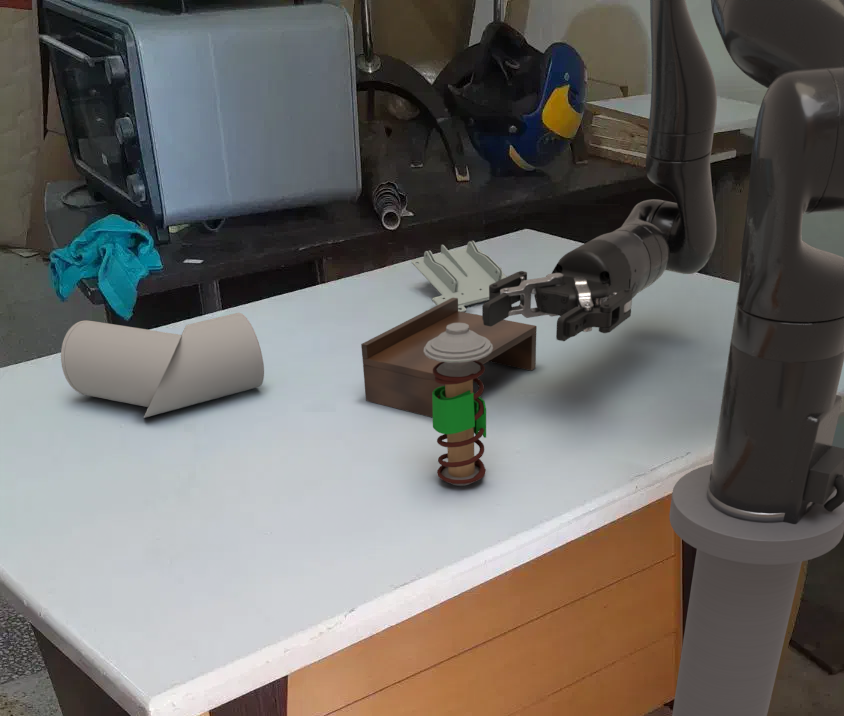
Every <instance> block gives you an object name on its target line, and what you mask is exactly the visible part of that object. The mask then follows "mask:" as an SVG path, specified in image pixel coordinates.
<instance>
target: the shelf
mask: <svg viewBox="0 0 844 716" xmlns="http://www.w3.org/2000/svg"><path fill="white" fill-rule="evenodd" d="M452 323H466V324H468V325H469V330H471V331H474V332H475V333H476V334H478V335H480V336H483V337H485V338H487V339H488V340H489V341H490V343H491V344H492V345H493V350H492V352H491V354H489V355H488V356H486V357H484V358H482V359H479V360H475V361H479V362H480V363H482V364H483V365H484V364H486V363H488V362H489V363H492V364H493V363H494V364H497V365H498V364H499V365H503V366H508V367H512V368H516V369H517V368H518V369H521V370H526V371H533V370H535V369H536V366H537V365H536V362H537V358H536V357H537V325H535V324H529V323H524V322H519V321H514V320H513V321H512V320H507V319H504V320H502V321H500V322H498V323H497V324H495V325H493V326H491V327H490V326H485V325H484V323H483V320H482V315H481V314H475V313H472V312H471V313H470V312H466V311H465V312H460V311H458V298H451V299H449V300H447V301H445V302H443V303H441V304H439V305H437V306H436V305H435V306H433V307H431V308H429V309H427V310H425V311H423V312H422V313H421V312H420V313H419V314H417V315H415V316H413V317H411V318H409V319H408V320H406V321H404V322H402V323H400V324H398V325H396V326H394V327H392V328H389V329H387V330H386V331H384V332H382V333H380V334H378V335H375V336H374V337H372V338H370V339H368V340H366V341H365V342H363V343H361V344H360V346H361V357H362V369H363V380H364V393H365V401H366V402H369V403H373V404H378V405H381V406H385V407H390V408H393V409H397V410H402V411H406V412H409V413H414V414H417V415H422V416H425V417H429V418H433V404H432V392H433V391H434V389H436V388H438V387H441V386H445V385H444V384H439V383H437V382H436V381H435V380H434V378H435V376H434V374H433V368H434V367H435V366H436V365H437V364H438V363H441V362H439V361H436V360H433V359H429V358H428V357H427V356H425V354H424V352H423V351H424V347H425V346H426V344H427V343H428V341H430V340H432V339H434V338H435V337H438V336H439V335H440V334H441V333H443V332H445V331H446V327H447V325H450V324H452ZM437 372H438V371H437Z"/></svg>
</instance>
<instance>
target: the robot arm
mask: <svg viewBox="0 0 844 716" xmlns="http://www.w3.org/2000/svg"><path fill="white" fill-rule="evenodd" d="M649 2H650V3H649V9H650V10H649V16H650V17H649V19H650V45H651V46H650V48H651V93H650V107H649V108H650V109H649V120H648V128H647V129H648V130H647V131H648V132H647V142H646V153H645V173H646V177H647V179H648V180H649V181H650V182H651V183H652V184H654V185H656V186H658V187H659V188H661V189H662V190H663V189H664V190H665V191H666V192H668V193H670V194H671V196H673V198H674V200H675V202H672V201H668V200H662V199H646V200H643V201H640V202H638V203H637V204H635V205H634V206H633V208H632V209H631V211H630V212H629V215H628V217H627V218H626V219H625V220H624V222H623V223H622V224H621V226H620V227H619V228H617V229H615V230H613V231H611V232H607V233H603V234H600V235H598V236H595V238H593V239H591V240H589V241H587V242H585V243H584V244H581V245H580V246H578V247H576V248H574V249H572V250H570V251H569V252H566V254H563V256H561V258H560V259H559V260H558V262H557V263H556V265H555V266H554V268H553V270H552V272H550V273H547V275H546V276H543V277H537V278H531V279H528V272H527V271H524V270H519V271H517V272H514V273H512V274H510V275H508V276H507V277H506V278H504V279H501V280H499V281H497V282H495V283H493V284H491V285H489V300H487V301H485V302H483V304H482V306H481V308H482V309H481V310H482V311H481V312H482V313H481V314H482V320H483V323H484V325H485V326H490V327H491V326H493V325H495V324H497V323H498V322H500V321H502V320H506V319H508V318H509V317H511V316H517V315H522V316H523V317H524V318H526V319H530V318H536V317H537V318H538V317H543V316H549V317H551V318H553V317H558V316H559V317H558V318H557V321H556V333H555V334H556V337H555V338H556V341H559V342H560V341H561V342H566V341H567V340H569V339H570V338H573V337H576V336H577V335H578V334H580V333H581V332H583V333H588V332H589V333H590V332H591V331H592V330H593V328H598V332H599V333H602V334H607V333H610V332H612V331H613V330H615V329H616V328H617V327H619V326H620V325H621V324H623V323H624V322H625V321H626V320H628V319H630V317H631V315H632V309H633V308H632V305H633V299H634V298H635V297H636V296H637V295H638V294H639V293H641V292H643V291H644V290H645V289H647V288H648V287H650V286H651V285H653V284H654V283H655V282H656V281H658V280H659V279H660V278H661V277H662V275H664V273H665V271H668V272H673V273H677V274H682V275H694V274H696V273H698V272H699V271H700V270H702V269H703V268H704V267H705V266H706V265H707V263H708V261H709V260H710V259H711V257H712V255H713V252H714V249H715V246H716V243H717V242H716V241H717V231H718V230H717V229H718V228H717V216H716V209H715V208H716V207H715V201H714V195H713V186H712V185H713V183H712V173H711V157H712V149H713V142H714V133H715V127H716V117H717V108H718V107H717V106H718V91H717V84H716V79H715V75H714V71H713V69H712V66H711V64H710V62H709V58H708V57H707V54H706V52H705V49H704V47H703V45H702V42H701V41H700V39H699V37H698V34H697V31H696V29H695V27H694V23H693V20H692V18H691V14H690V12H689V9H688V5H687V1H686V0H649ZM710 6H711V14H712V16H713V20H714V22H715V26H716V28H717V30H718V32H719V35H720V37H721V40H722V43H723V45H724V47H725V49H726V51H727V53H728V56H729V57H730V58H731V60H732V62H733V63H734V64H735V65H736V67H737V68H738V69H739V70H740V71H741V72H742V73H743V74H745V75H746V76H747V77H749V78H750V79H751V80H753V81H754V82H756V83H758V84H759V85H761V86H763V87H764V88H766V92H765V93H764V96H763V98H762V100H761V103H760V107H759V110H758V112H757V113H758V114H757V117H756V122H755V128H754V134H753V140H752V141H753V142H752V148H751V149H752V152H751V157H750V158H751V159H750V169H749V181H748V192H747V200H746V201H747V202H746V213H745V220H744V221H745V222H744V229H743V236H742V242H741V253H740V265H739V266H740V268H739V269H740V270H739V283H738V290H737V297H736V304H735V310H734V315H733V323H732V330H731V336H730V342H729V343H730V344H729V350H728V357H727V363H726V369H725V370H726V371H725V376H724V383H723V388H722V389H723V390H722V395H721V403H720V410H719V417H718V423H717V430H716V437H715V442H714V443H715V444H714V450H713V457H712V463H711V464H712V470H711V473H710V481H709V483H708V489H707V499H708V501H709V502H710V504H711V505H712V506H713V507H714V508H716V509H717V510H719V511H720V512H722V513H724V514H726V515H729V516H731V517H734V518H738V519H742V520H746V521H753V522H765V523H771V522H787V523H791V524H797V523H798V522H799V521H800V520H801V519H802V518H803V516H804V515H805V514H806V513H807V512H809V511H810V509H811V508H812V506H813V505H814V504H815V503H817V504H821V505H823V504H824V502H825V501H826V500H827V499H828V498H829V497H830V495H831V494H832V493H833V492H834V491H835V490H837V493H836V495H835V496H834V497H833V498H831V499H830V500H829V501H827V502H826V503H825V504H824V508H825V509H826V510H827V511H829V512H832V511H833V510H834V509H836V508H837V507H839V506H840V505H841V504H842V503H843V502H844V448H843V447H838V446H834V445H833V443H834V438H835V434H836V429H837V425H838V421H839V416H840V412H841V408H842V403H843V396H842V395H840V394H838V389H839V384H840V381H841V376H842V371H843V367H844V257H843V256H841V255H838V254H836V253H833V252H829V251H827V250H823V249H820V248H817V247H814V246H812V245H810V244H808V243H807V242H805V241H804V240H803V239H802V235H803V234H802V232H803V231H802V229H803V218H804V215H809V214H810V215H811V214H825V213H839V212H844V0H710ZM532 294H533V296H534V300H535V304H536V305H535V306H536V307H532ZM518 302H519V304H518V305H515V306H514V304H515V303H518Z"/></svg>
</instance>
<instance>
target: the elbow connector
mask: <svg viewBox="0 0 844 716" xmlns="http://www.w3.org/2000/svg"><path fill="white" fill-rule="evenodd" d="M60 363H61V369H62V373H63V375H64V377H65V379H66V381H67V383H68V385H69V386H70V387H71V388H72V389H73V391H75V392H76V393H79V394H80V395H84V396H88V397H93V398H99V399H102V400H103V399H104V400H109V401H114V402H119V403H124V404H130V405H135V406H140V407H144V408H145V407H146V408H147V409H146V410H145V414H144V416H143V419H145V418H149V417H154V416H156V415H160V414H164V413H168V412H171V411H175V410H179V409H183V408H187V407H190V406H194V405H197V404H202V403H205V402H208V401H212V400H215V399H219V398H224V397H226V396H230V395H234V394H238V393H241V392H245V391H249V390H254V389H256V388H260V387H261V386H262V385H263V383H264V378H265V366H264V358H263V353H262V349H261V345H260V342H259V339H258V336H257V334H256V331H255V329H254V327H253V326H252V324H251V322H250V320H249V319H248V317H247V316H245V314H243V313H242V312H235V313H231V314H227V315H222V316H218V317H214V318H210V319H206V320H201V321H196V322H192V323H189V324H185V326H184V328H183V331H182V332H181V334H178V333H173V332H165V331H160V330H159V331H158V330H153V329H147V328H140V327H134V326H133V327H132V326H127V325H120V324H113V323H107V322H102V321H101V322H100V321H94V320H80V321H78V322H76V323H74V324H73V325H72V326H70V328H69V329H68V330H67V332H66V334H65V335H64V338H63V341H62V343H61V350H60Z"/></svg>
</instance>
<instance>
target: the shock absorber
mask: <svg viewBox="0 0 844 716" xmlns="http://www.w3.org/2000/svg"><path fill="white" fill-rule="evenodd" d="M492 350H493V345H492V344H491V343H490V341H489V340H488V339H487V338H485V337H483V336H480V335H478V334H476V333H475V332H474V331H471V330H469V325H468V324H466V323H452V324H450V325H447V327H446V331H445V332H443V333H441V334H440V335H439V336H438V337H435V338H434V339H432V340H430V341H428V343H427V344H426V346H425V347H424V351H423V352H424V354H425V356H427V357H428V358H429V359H433V360H436V361H439V362H441V363H438V364H437V365H436V366H435V367H434V368H433V374H434V376H435V378H434V380H435V381H436V382H437V383H439V384H444V385H445V386H441V387H438V388H436V389H434V391H433V392H432V404H433V417H432V428H433V430H434V431H436V432H437V433H439V434H441V435H439V436H438V437H437V439H436V442H437V444H438V445H439V446H440V447H444V448H446V449H447V452H446V453H443V454H441V455H440V456H439V457H437V462H438V464H439V465H440V466H439V467H438V469H437V470H436V474H437V477H438V478H439V479H440V480H442V481H443V482H445V483H447V484H451V485H452V486H458V487H465V486H469V485H471V484H474V483H476V482H477V481H480V480H482V479H483V478H484V477H485V476H486V473H487V472H486V471H487V469H486V467H485V464H484V462H483V460H481V458H482V457H483V455H484V453H485V445H484V443H483V442H482V440H481V439H480V438H482V437H483V438H484V439H486V438H487V406H486V401H485V400H484V399H483V398H482V397H481V396H482V394H483V393H484V389H485V387H484V382H483V381H482V380H481V379H480V376H482V375H484V373H485V371H486V367H485V365H484V364H482V363H480V362H479V361H475V360H479V359H482V358H484V357H486V356H488V355H489V354H491V352H492ZM437 371H438V372H437ZM474 383H475V384H476V385H477V386H478V389H477V391H476V392H474ZM444 440H446V441H444ZM475 444H476V445H477V446H478V448H479V450H478V452H477V454H475ZM446 459H447V461H445V460H446Z"/></svg>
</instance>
